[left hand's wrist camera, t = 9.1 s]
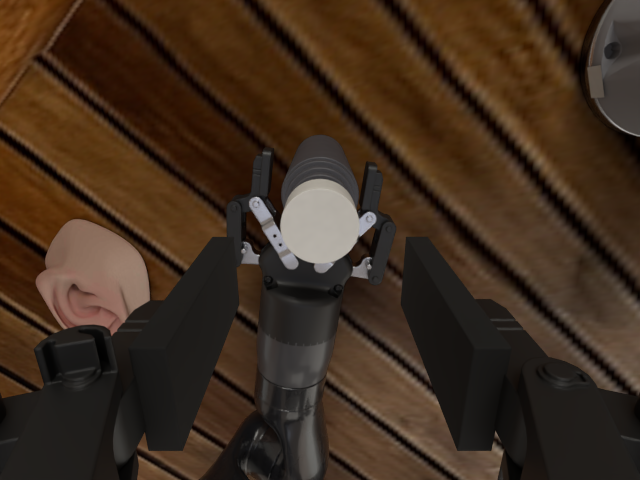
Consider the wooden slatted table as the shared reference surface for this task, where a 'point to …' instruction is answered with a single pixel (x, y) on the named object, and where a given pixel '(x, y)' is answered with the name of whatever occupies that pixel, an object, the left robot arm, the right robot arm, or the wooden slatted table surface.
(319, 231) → the cap
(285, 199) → the bottle
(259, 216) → the right robot arm
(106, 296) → the anatomical model
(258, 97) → the wooden slatted table surface
